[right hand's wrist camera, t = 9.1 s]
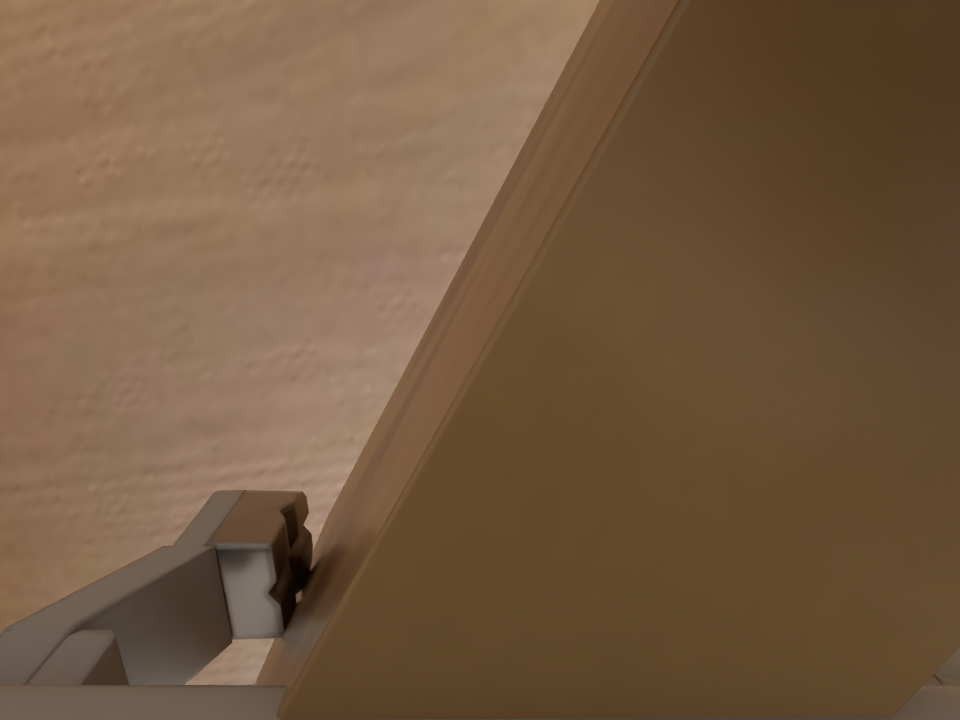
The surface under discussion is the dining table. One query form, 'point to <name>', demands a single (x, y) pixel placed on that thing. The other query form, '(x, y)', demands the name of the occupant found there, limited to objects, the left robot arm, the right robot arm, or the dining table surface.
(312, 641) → the bar
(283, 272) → the dining table surface
